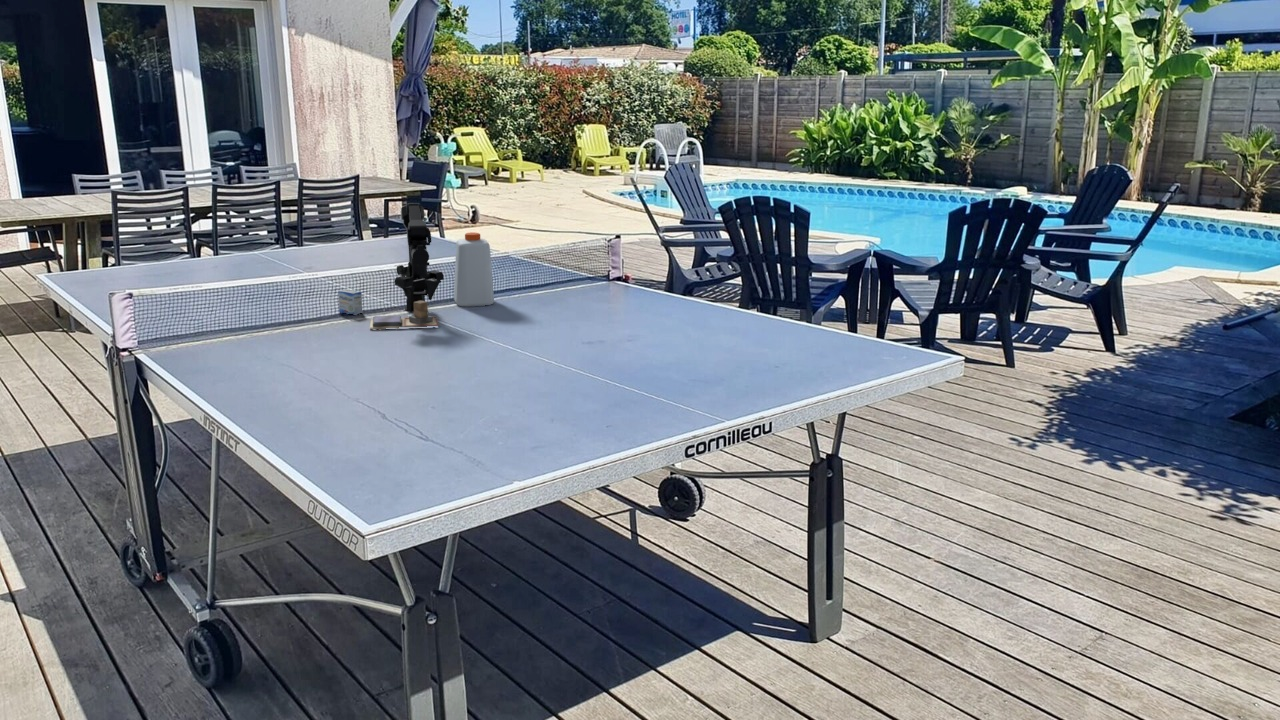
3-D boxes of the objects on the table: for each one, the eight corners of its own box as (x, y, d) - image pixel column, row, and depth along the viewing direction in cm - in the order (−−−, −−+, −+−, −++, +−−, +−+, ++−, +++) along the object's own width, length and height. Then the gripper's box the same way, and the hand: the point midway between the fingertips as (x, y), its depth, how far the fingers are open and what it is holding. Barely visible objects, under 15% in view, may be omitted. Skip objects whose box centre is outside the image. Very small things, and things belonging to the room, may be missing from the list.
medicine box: (338, 313, 382) (337, 290, 379) (347, 310, 386) (346, 288, 383) (354, 316, 378) (353, 293, 376) (363, 313, 382) (361, 291, 380)
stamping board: (436, 320, 376) (436, 313, 375) (438, 328, 365) (438, 321, 364) (370, 321, 370) (370, 315, 370) (370, 330, 359) (369, 323, 359)
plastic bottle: (452, 299, 409) (450, 230, 401) (489, 297, 413) (488, 230, 405) (457, 307, 395) (455, 237, 387) (495, 306, 399) (494, 236, 391)
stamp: (421, 319, 373) (421, 299, 371) (432, 321, 369) (432, 301, 367) (409, 321, 368) (408, 302, 366) (420, 324, 365) (419, 304, 363)
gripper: (423, 253, 374) (424, 294, 378) (383, 260, 359) (385, 302, 364) (444, 257, 367) (445, 298, 372) (404, 264, 353) (406, 307, 357)
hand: (420, 301), depth 366 cm, fingers open, 9 cm apart
